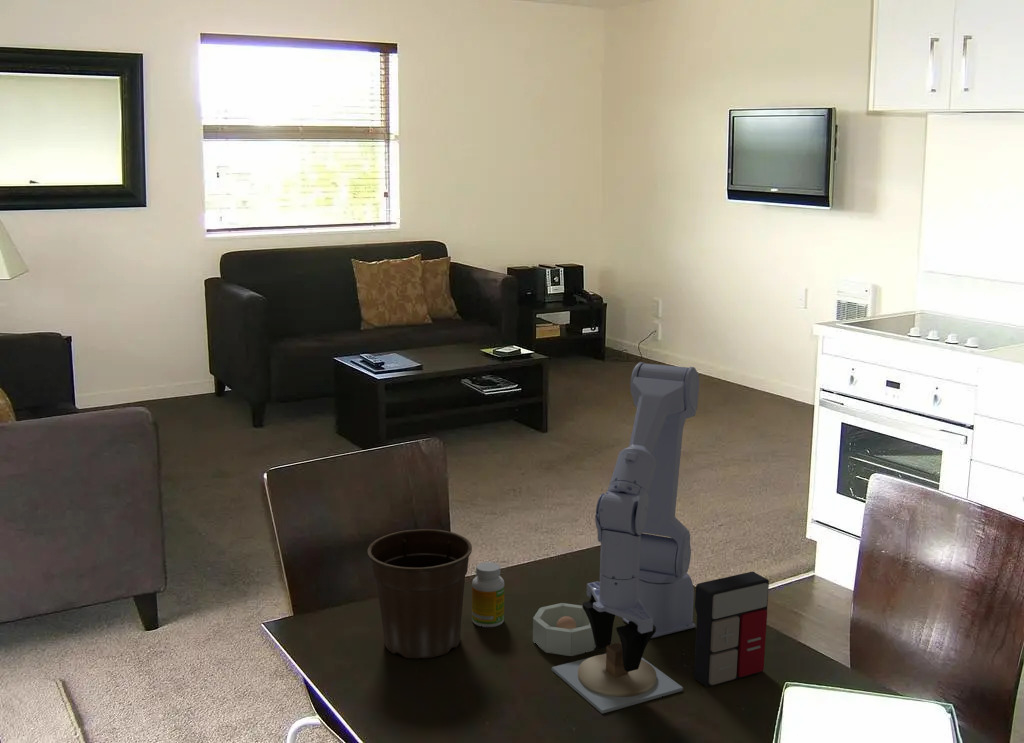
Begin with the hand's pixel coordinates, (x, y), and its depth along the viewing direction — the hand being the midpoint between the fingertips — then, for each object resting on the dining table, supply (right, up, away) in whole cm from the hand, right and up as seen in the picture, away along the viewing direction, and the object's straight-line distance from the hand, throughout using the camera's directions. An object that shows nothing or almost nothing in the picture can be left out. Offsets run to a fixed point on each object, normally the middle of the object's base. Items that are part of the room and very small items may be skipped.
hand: (616, 658), depth 154 cm
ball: (-7, +2, +13) cm, 15 cm away
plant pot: (-30, -1, +12) cm, 32 cm away
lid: (0, -3, +1) cm, 3 cm away
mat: (0, -3, +1) cm, 3 cm away
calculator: (+17, -3, +2) cm, 18 cm away
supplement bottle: (-19, +1, +20) cm, 28 cm away
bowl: (-7, -1, +13) cm, 15 cm away
